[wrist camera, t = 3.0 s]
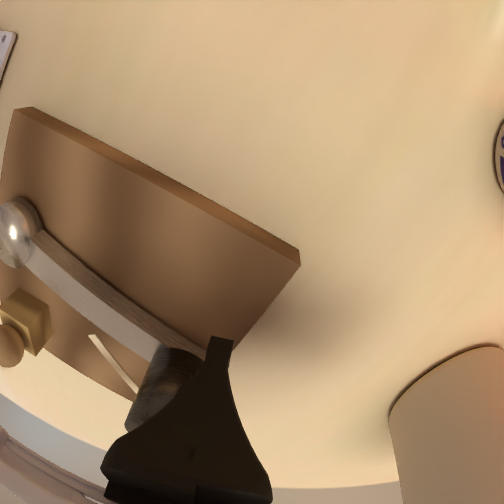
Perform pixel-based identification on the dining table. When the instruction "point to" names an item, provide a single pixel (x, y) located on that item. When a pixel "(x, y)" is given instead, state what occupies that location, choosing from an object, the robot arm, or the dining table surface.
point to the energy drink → (500, 157)
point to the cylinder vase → (453, 432)
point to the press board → (127, 253)
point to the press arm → (101, 309)
